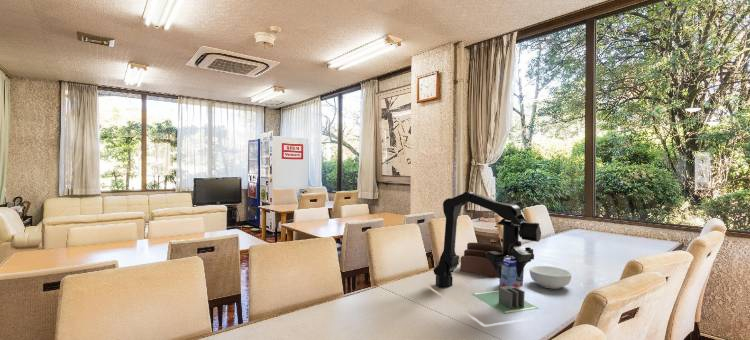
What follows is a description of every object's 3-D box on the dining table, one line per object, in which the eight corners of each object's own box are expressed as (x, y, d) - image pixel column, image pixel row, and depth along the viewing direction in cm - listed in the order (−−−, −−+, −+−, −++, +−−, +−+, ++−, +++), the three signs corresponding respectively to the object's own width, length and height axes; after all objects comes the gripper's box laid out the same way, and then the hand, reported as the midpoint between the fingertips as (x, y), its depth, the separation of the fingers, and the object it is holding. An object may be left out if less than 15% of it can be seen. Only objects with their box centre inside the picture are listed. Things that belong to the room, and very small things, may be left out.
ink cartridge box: (508, 290, 151) (509, 257, 151) (498, 286, 156) (499, 254, 156) (524, 287, 156) (524, 255, 156) (513, 283, 161) (514, 252, 161)
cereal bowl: (561, 281, 166) (561, 266, 166) (578, 293, 149) (578, 277, 149) (524, 279, 168) (524, 264, 168) (536, 291, 151) (537, 275, 151)
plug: (510, 309, 130) (510, 293, 129) (498, 302, 136) (499, 287, 136) (524, 307, 132) (524, 291, 132) (512, 300, 138) (512, 285, 138)
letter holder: (467, 266, 187) (467, 240, 186) (505, 274, 175) (506, 246, 175) (460, 271, 178) (460, 243, 178) (499, 279, 167) (500, 249, 167)
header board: (504, 315, 126) (504, 306, 126) (471, 295, 144) (471, 287, 144) (539, 310, 131) (539, 301, 131) (502, 291, 150) (503, 284, 150)
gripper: (504, 243, 124) (503, 287, 124) (546, 240, 130) (544, 282, 130) (485, 236, 135) (483, 277, 135) (524, 234, 141) (522, 273, 141)
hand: (509, 277), depth 135 cm, fingers open, 9 cm apart
